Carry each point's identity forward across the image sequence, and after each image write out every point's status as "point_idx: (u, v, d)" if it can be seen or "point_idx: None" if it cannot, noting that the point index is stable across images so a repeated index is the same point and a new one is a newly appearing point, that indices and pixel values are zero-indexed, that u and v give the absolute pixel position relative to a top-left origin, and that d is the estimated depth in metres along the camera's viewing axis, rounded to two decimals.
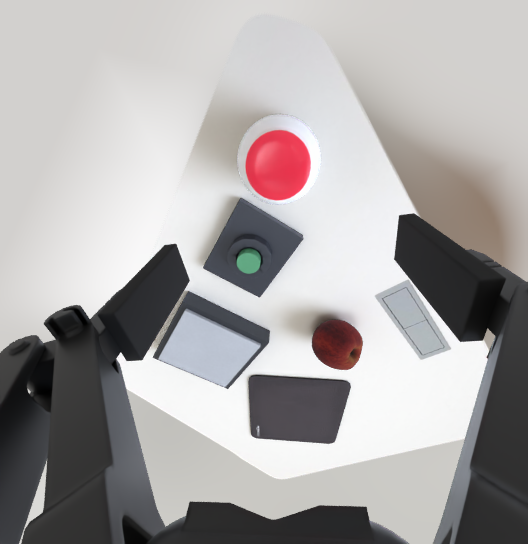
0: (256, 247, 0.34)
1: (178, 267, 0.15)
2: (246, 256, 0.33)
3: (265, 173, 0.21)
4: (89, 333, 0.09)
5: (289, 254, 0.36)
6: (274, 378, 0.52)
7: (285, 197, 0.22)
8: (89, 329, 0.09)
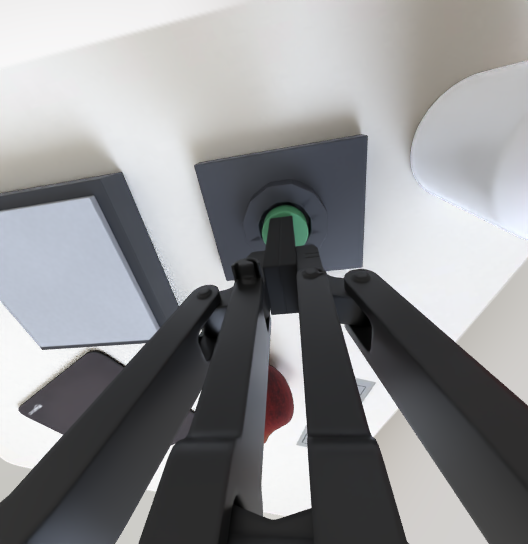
0: (314, 223, 0.18)
1: None
2: (296, 222, 0.17)
3: None
4: (258, 288, 0.10)
5: (325, 268, 0.21)
6: None
7: None
8: (259, 284, 0.10)
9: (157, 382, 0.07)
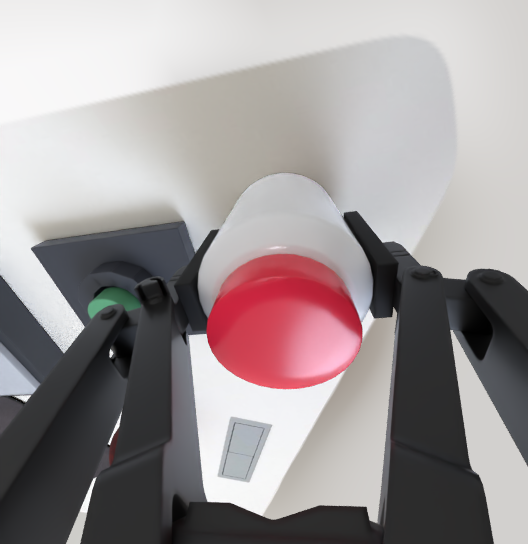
0: None
1: None
2: None
3: (253, 330, 0.09)
4: (167, 304, 0.10)
5: None
6: None
7: (245, 378, 0.10)
8: (168, 300, 0.10)
9: (70, 405, 0.07)
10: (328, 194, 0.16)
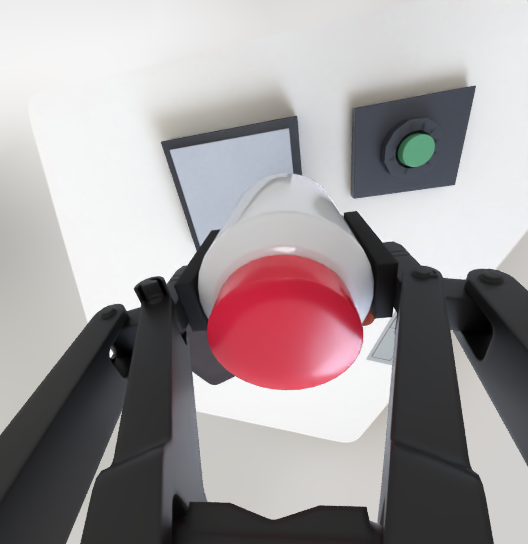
0: (435, 145, 0.27)
1: None
2: (428, 142, 0.26)
3: (254, 331, 0.09)
4: (167, 304, 0.10)
5: (428, 185, 0.31)
6: None
7: (246, 379, 0.10)
8: (168, 300, 0.10)
9: (70, 405, 0.07)
10: (328, 194, 0.16)
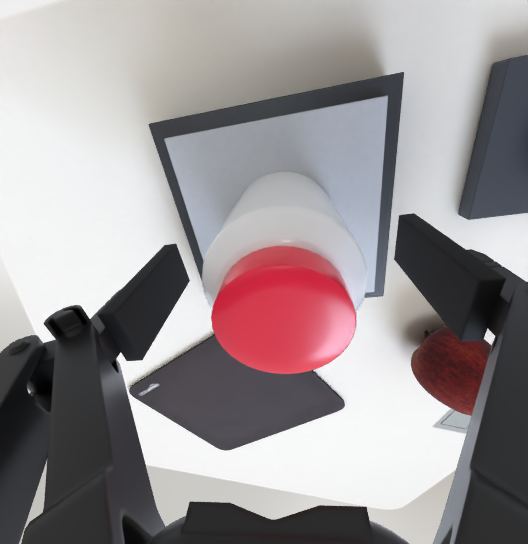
0: None
1: (178, 267, 0.15)
2: None
3: (255, 316, 0.09)
4: (89, 333, 0.09)
5: None
6: None
7: (247, 363, 0.11)
8: (89, 329, 0.09)
9: None
10: (326, 192, 0.17)
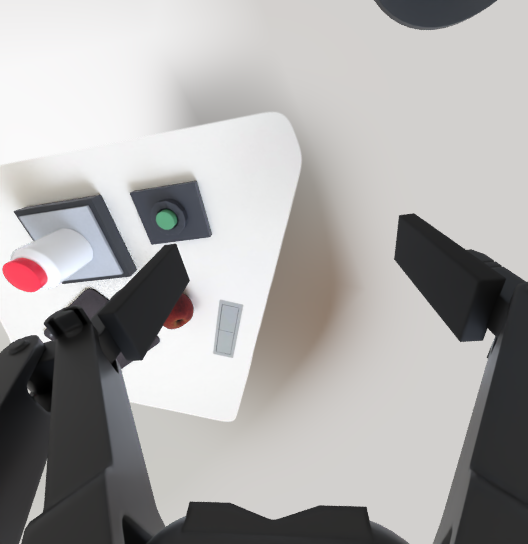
0: (178, 216, 0.44)
1: (178, 267, 0.15)
2: (168, 216, 0.43)
3: (13, 274, 0.38)
4: (89, 333, 0.09)
5: (194, 237, 0.47)
6: None
7: (19, 288, 0.40)
8: (89, 329, 0.09)
9: None
10: (79, 236, 0.46)
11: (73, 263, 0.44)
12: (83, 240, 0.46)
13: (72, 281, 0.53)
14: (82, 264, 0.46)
